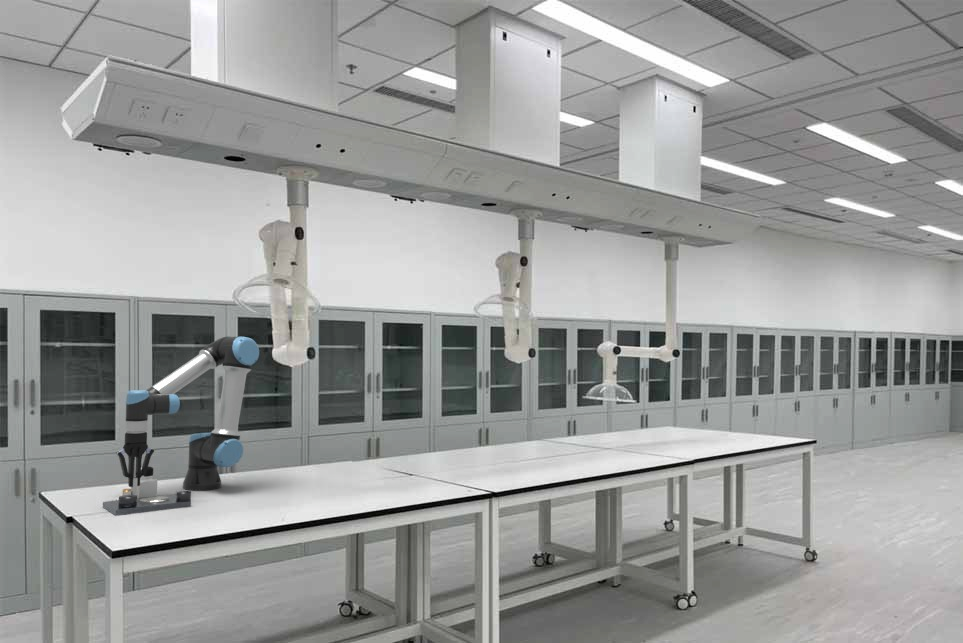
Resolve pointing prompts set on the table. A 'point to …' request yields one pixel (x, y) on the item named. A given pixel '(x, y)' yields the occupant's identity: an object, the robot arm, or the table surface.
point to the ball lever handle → (127, 499)
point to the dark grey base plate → (146, 505)
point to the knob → (183, 496)
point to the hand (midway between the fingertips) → (133, 495)
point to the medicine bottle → (147, 485)
